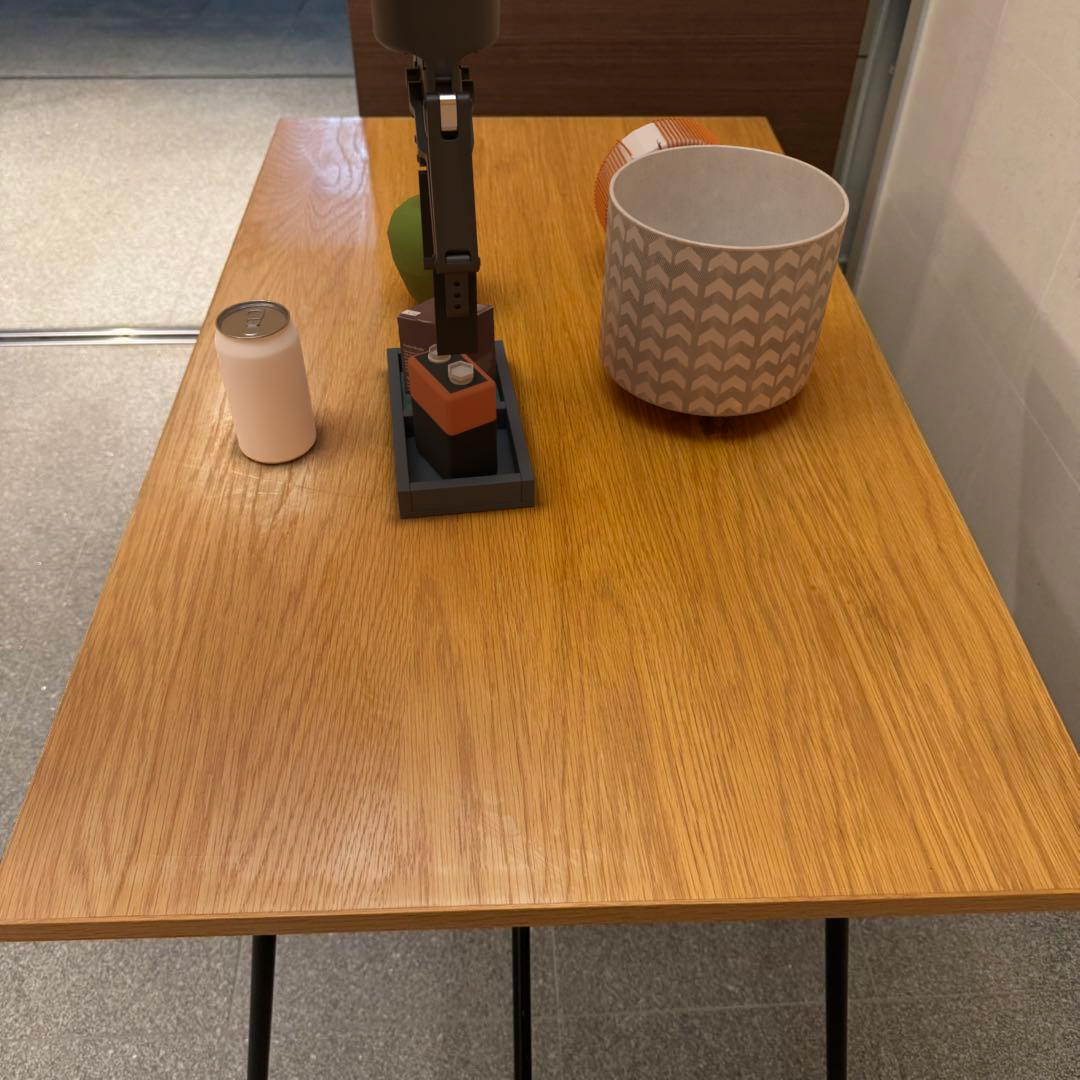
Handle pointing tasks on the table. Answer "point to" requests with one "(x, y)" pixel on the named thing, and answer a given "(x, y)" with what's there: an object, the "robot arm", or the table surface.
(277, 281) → the table surface
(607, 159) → the coil
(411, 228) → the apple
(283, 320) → the can
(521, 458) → the holder
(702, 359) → the planter
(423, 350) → the box
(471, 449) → the battery
